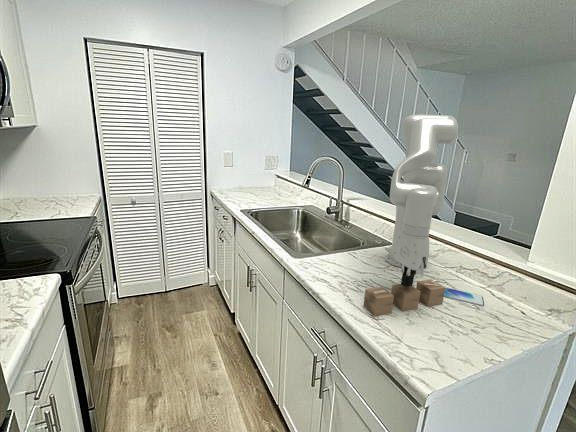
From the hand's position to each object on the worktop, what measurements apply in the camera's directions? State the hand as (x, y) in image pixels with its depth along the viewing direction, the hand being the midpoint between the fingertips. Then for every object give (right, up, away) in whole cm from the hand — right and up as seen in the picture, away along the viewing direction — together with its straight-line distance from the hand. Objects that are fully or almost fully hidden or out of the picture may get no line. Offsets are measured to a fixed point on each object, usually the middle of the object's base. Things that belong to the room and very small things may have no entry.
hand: (406, 285), depth 99 cm
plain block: (0, -7, +1) cm, 7 cm away
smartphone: (+21, -6, +9) cm, 24 cm away
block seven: (+9, -6, +5) cm, 12 cm away
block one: (-10, -7, -2) cm, 12 cm away
